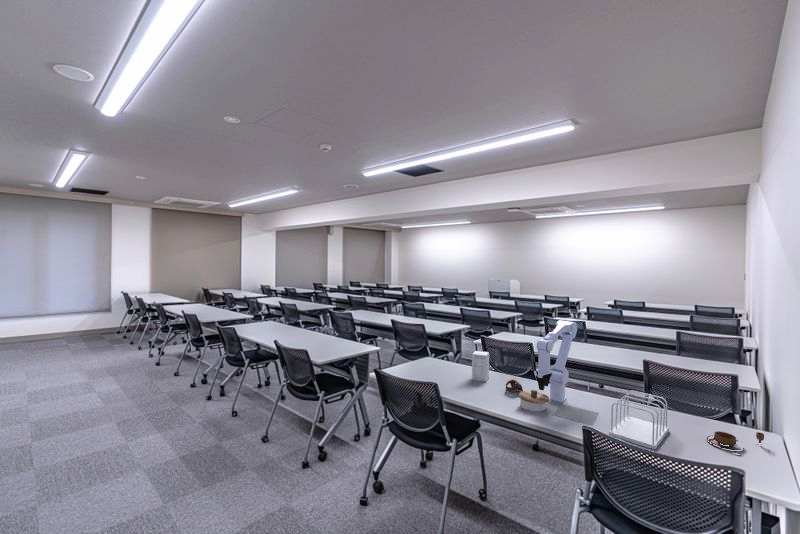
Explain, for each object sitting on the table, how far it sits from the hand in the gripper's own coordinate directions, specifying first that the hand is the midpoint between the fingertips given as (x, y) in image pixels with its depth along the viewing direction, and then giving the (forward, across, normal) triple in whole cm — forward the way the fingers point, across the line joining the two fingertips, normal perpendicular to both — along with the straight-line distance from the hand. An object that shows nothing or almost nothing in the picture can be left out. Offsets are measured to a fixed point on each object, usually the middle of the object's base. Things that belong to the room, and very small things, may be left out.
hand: (543, 388), depth 196 cm
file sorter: (+10, +5, +43) cm, 45 cm away
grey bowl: (+9, +6, -4) cm, 12 cm away
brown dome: (+10, -10, -19) cm, 24 cm away
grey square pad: (+9, +2, +16) cm, 19 cm away
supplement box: (+10, -19, -45) cm, 50 cm away
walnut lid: (+4, +6, -3) cm, 8 cm away
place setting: (+10, -6, +77) cm, 78 cm away
